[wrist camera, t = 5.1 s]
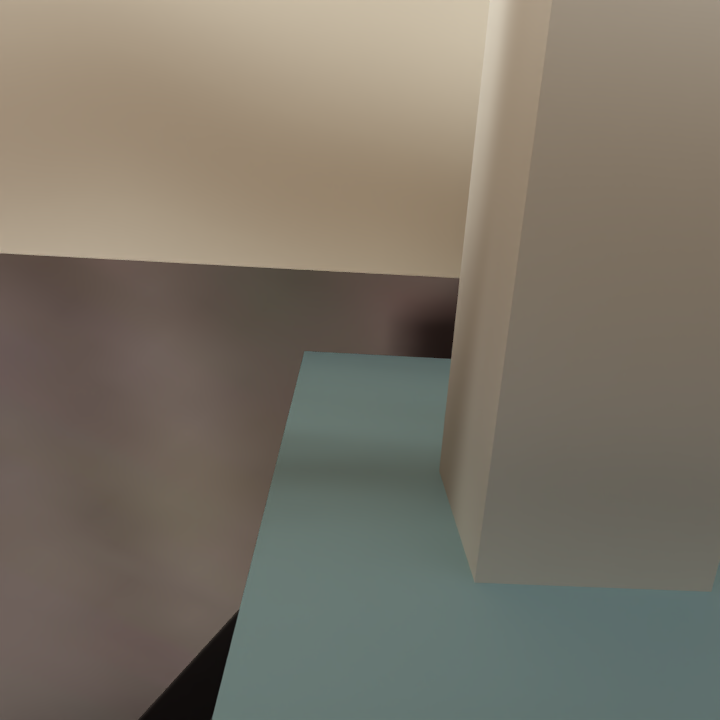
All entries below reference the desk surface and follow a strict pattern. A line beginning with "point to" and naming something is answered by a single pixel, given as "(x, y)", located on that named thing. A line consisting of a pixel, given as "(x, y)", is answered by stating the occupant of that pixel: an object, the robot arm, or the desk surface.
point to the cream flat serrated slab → (241, 131)
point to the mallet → (524, 419)
